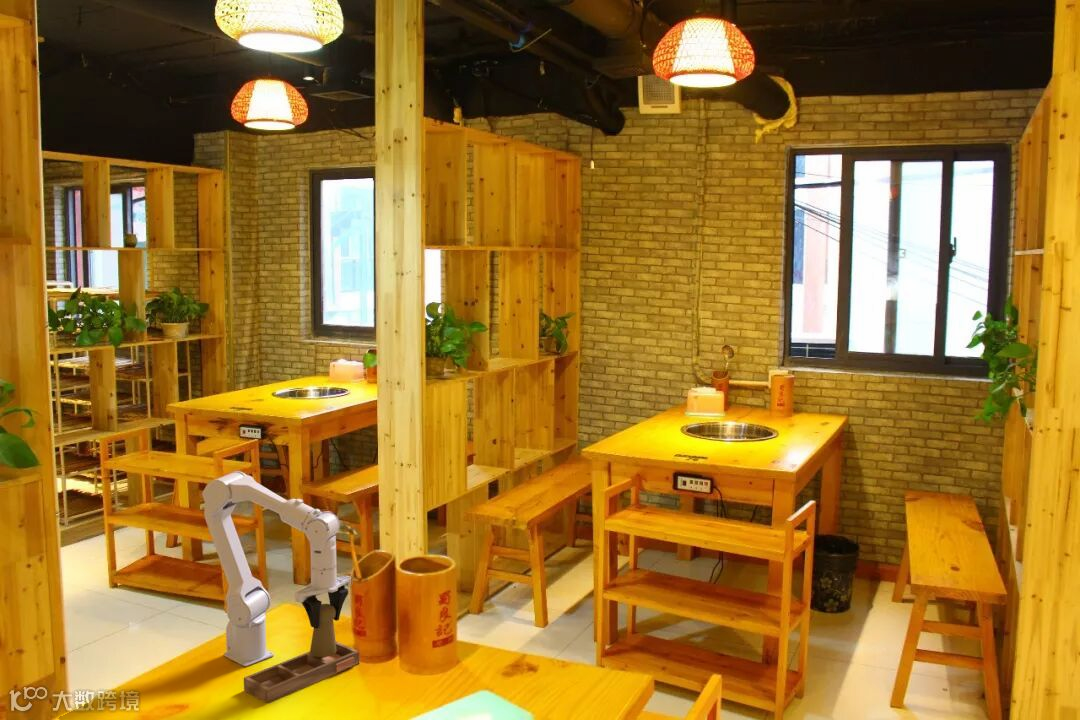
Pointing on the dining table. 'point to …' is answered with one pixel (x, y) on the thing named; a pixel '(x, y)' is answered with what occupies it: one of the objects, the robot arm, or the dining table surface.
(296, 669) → the spice rack
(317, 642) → the pepper mill
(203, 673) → the dining table surface
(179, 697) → the dining table surface
